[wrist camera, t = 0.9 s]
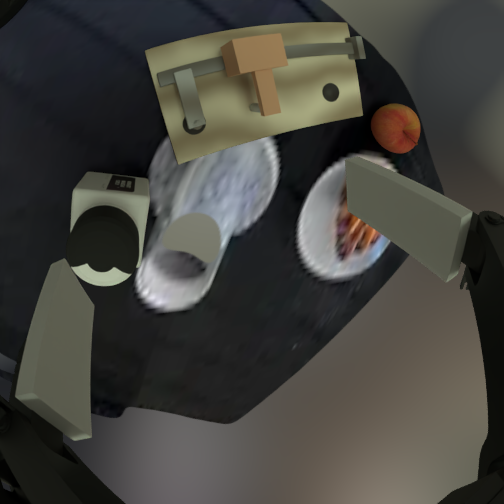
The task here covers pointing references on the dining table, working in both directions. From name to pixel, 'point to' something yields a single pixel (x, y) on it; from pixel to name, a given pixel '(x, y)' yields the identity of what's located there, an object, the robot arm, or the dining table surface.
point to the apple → (396, 128)
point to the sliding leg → (257, 67)
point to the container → (107, 227)
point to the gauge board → (242, 86)
